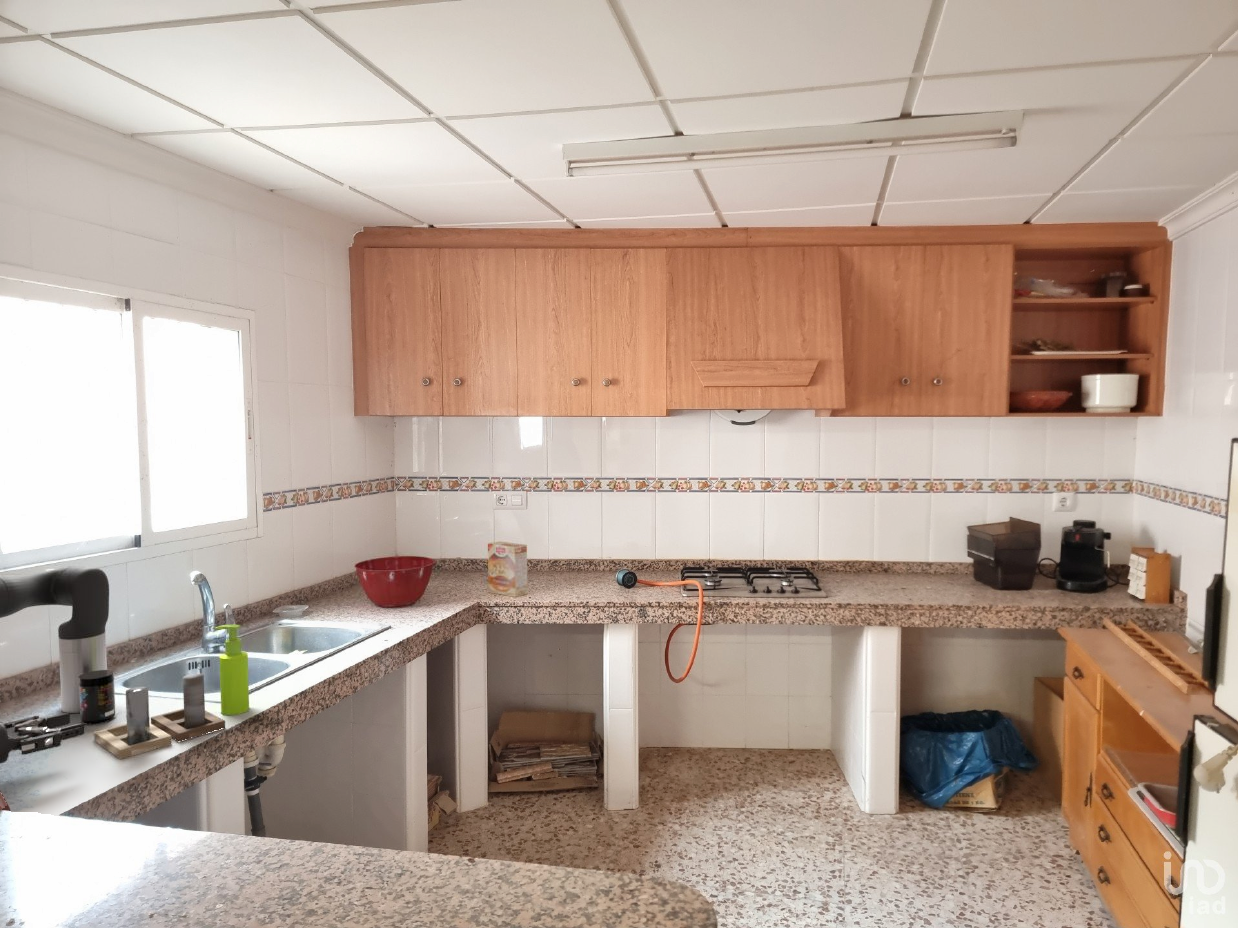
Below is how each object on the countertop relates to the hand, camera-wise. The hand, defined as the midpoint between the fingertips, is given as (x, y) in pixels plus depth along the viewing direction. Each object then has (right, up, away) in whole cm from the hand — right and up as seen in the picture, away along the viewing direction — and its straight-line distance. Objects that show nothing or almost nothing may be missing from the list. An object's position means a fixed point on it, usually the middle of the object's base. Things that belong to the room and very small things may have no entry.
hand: (76, 723), depth 158 cm
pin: (+7, -8, +9) cm, 14 cm away
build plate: (+4, -8, +11) cm, 14 cm away
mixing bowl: (+24, -1, +140) cm, 142 cm away
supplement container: (-12, -7, +24) cm, 28 cm away
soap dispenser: (+16, -7, +30) cm, 35 cm away
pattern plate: (+11, -7, +20) cm, 24 cm away
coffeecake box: (+63, 0, +156) cm, 169 cm away
